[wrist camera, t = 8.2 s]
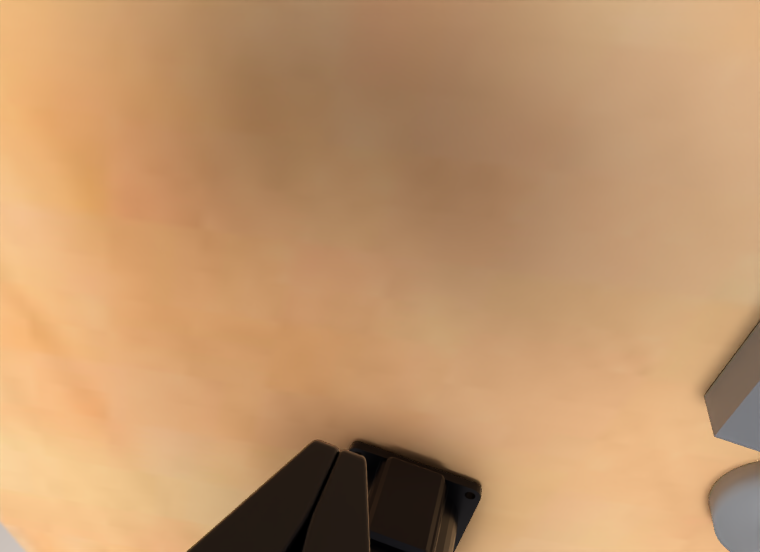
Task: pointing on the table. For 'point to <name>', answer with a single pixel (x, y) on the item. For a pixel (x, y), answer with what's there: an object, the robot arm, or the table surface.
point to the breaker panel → (738, 396)
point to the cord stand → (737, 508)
